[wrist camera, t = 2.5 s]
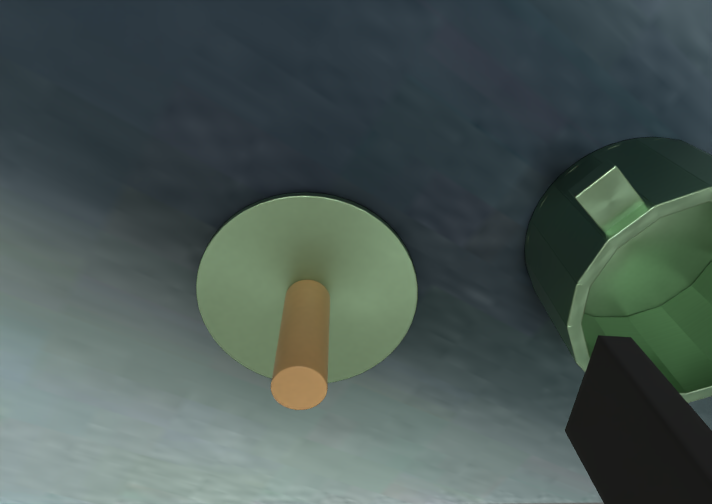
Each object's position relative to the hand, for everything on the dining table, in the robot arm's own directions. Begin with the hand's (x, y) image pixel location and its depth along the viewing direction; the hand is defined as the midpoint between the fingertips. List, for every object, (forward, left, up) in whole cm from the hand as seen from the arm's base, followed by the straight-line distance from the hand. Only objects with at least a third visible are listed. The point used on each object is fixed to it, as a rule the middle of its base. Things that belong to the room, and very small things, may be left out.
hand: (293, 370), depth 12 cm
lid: (-10, -8, -24) cm, 27 cm away
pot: (+8, -20, -24) cm, 32 cm away
